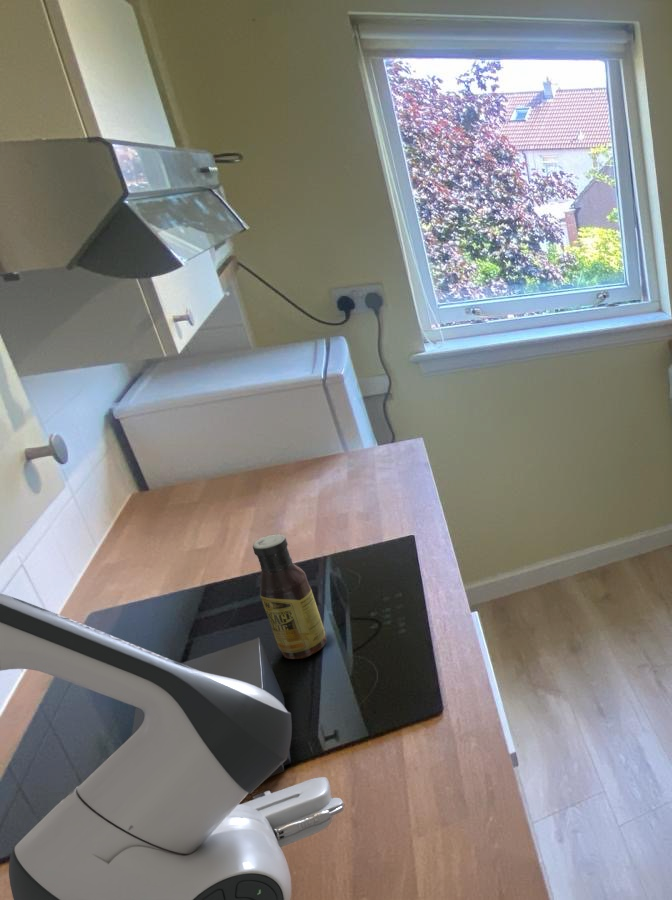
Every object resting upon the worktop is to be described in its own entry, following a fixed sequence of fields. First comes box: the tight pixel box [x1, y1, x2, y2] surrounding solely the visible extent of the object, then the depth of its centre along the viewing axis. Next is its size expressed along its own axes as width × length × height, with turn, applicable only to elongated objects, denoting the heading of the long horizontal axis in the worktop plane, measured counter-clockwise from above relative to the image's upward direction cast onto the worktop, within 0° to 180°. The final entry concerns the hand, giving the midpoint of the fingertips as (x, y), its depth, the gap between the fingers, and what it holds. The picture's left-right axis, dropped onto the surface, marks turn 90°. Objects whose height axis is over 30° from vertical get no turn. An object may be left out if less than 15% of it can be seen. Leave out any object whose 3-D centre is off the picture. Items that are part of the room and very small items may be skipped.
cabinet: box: [130, 637, 292, 767], centre depth 94 cm, size 15×13×11 cm
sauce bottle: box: [252, 533, 328, 660], centre depth 111 cm, size 6×6×20 cm
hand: (206, 820), depth 76 cm, fingers open, 8 cm apart
